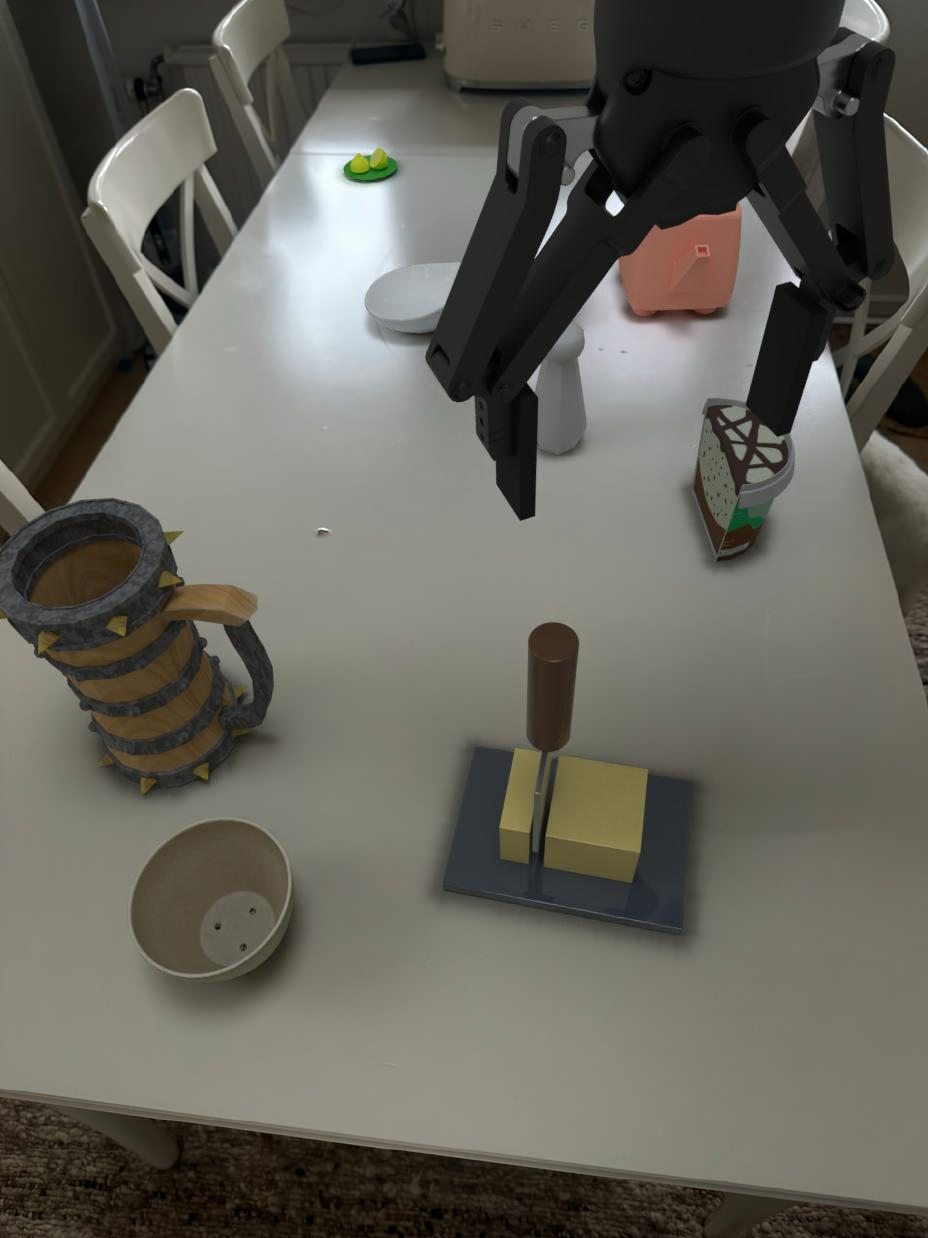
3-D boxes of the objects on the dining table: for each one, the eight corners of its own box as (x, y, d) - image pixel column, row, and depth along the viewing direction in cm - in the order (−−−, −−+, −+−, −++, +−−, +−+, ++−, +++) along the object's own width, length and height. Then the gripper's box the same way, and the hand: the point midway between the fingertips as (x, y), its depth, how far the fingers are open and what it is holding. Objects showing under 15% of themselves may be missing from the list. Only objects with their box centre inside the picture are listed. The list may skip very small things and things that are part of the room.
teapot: (741, 345, 97) (770, 221, 86) (627, 350, 97) (642, 227, 86) (707, 245, 110) (728, 127, 99) (607, 249, 111) (618, 132, 100)
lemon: (386, 154, 131) (384, 134, 129) (405, 175, 126) (403, 155, 124) (336, 166, 129) (333, 146, 127) (354, 188, 125) (351, 168, 123)
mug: (132, 655, 73) (29, 478, 58) (328, 676, 71) (276, 498, 55) (65, 792, 65) (-75, 629, 50) (283, 821, 63) (208, 660, 47)
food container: (789, 568, 76) (821, 483, 68) (720, 574, 76) (744, 489, 68) (750, 474, 84) (775, 388, 76) (687, 479, 84) (705, 393, 76)
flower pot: (173, 868, 61) (138, 824, 55) (314, 853, 61) (294, 808, 56) (154, 1018, 55) (113, 986, 49) (311, 1001, 55) (288, 967, 49)
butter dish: (689, 787, 63) (703, 745, 58) (680, 935, 57) (695, 902, 52) (475, 751, 66) (472, 709, 61) (443, 890, 59) (437, 854, 55)
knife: (572, 747, 59) (588, 586, 46) (555, 856, 55) (568, 710, 41) (534, 741, 60) (540, 579, 47) (514, 848, 55) (514, 702, 42)
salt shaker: (589, 426, 89) (598, 313, 79) (581, 462, 86) (590, 349, 76) (533, 420, 90) (535, 307, 80) (523, 456, 87) (524, 343, 77)
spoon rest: (360, 347, 100) (350, 290, 94) (376, 292, 107) (369, 236, 101) (565, 351, 97) (568, 293, 92) (568, 295, 105) (571, 237, 99)
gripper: (989, -195, 29) (817, 349, 46) (276, -80, 24) (373, 484, 41) (1181, -154, 25) (914, 431, 41) (358, -3, 20) (429, 595, 36)
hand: (645, 458), depth 41 cm, fingers open, 13 cm apart
